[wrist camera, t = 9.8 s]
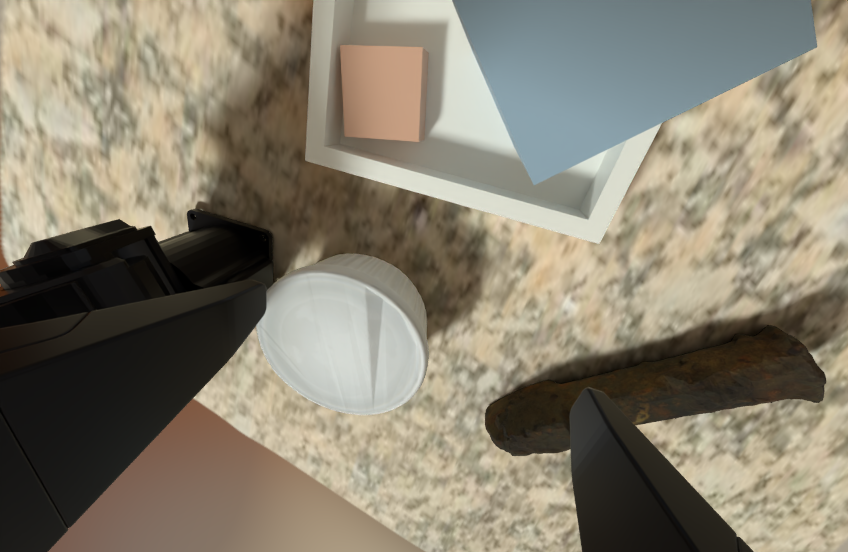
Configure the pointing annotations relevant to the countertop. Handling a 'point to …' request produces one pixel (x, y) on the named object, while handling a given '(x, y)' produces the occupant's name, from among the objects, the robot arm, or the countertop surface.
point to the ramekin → (347, 334)
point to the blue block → (619, 64)
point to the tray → (452, 126)
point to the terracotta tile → (384, 91)
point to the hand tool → (663, 390)
